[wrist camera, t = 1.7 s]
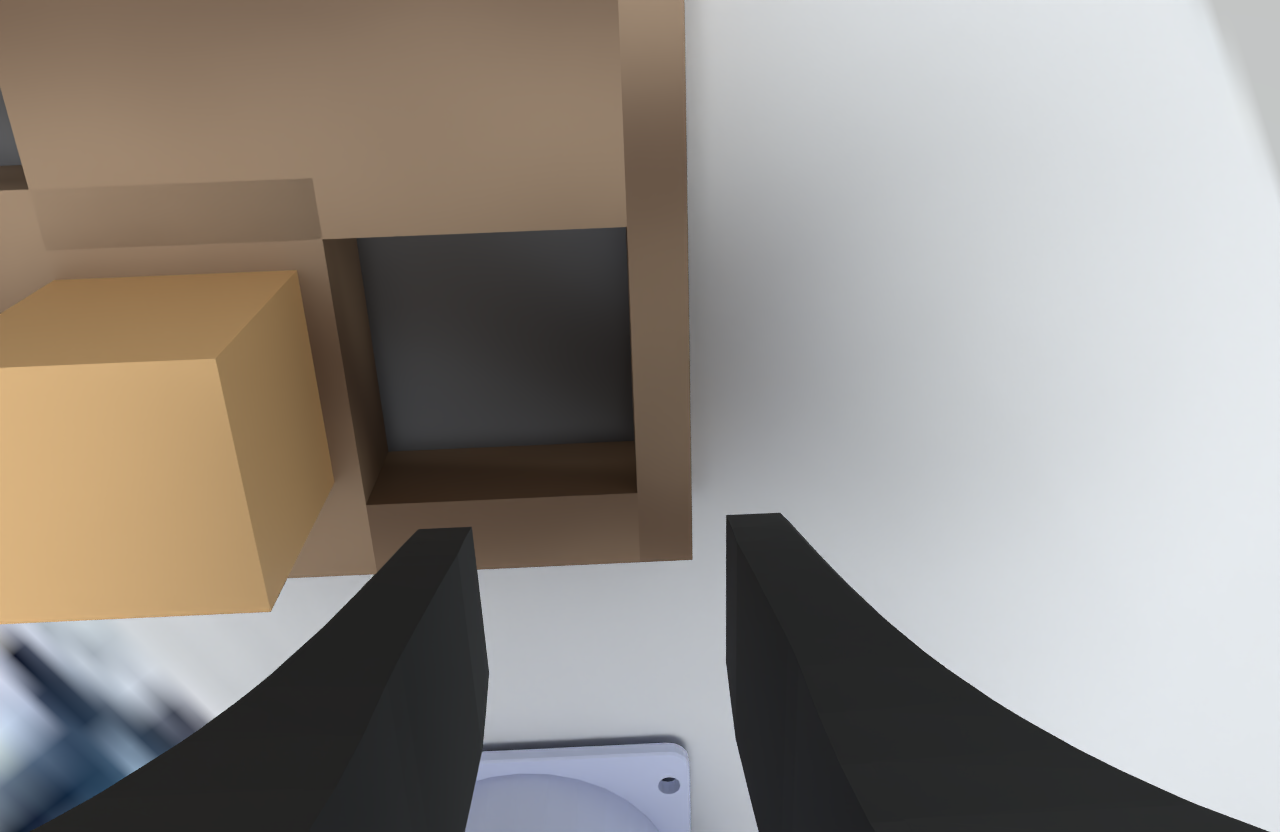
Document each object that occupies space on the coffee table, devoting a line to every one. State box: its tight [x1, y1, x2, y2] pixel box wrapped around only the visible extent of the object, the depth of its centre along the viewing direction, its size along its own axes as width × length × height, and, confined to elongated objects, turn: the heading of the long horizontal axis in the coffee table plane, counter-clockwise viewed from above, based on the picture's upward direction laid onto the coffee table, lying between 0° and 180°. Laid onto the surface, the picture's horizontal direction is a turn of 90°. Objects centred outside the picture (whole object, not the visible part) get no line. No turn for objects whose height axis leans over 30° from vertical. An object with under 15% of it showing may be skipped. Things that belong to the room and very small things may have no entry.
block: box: [0, 270, 334, 624], centre depth 16 cm, size 4×4×4 cm
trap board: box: [0, 0, 692, 578], centre depth 18 cm, size 14×19×2 cm
